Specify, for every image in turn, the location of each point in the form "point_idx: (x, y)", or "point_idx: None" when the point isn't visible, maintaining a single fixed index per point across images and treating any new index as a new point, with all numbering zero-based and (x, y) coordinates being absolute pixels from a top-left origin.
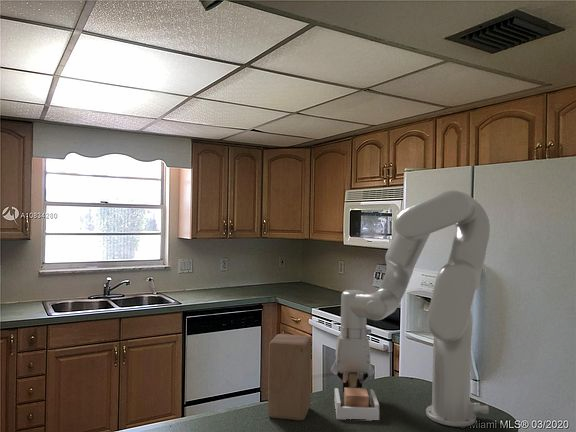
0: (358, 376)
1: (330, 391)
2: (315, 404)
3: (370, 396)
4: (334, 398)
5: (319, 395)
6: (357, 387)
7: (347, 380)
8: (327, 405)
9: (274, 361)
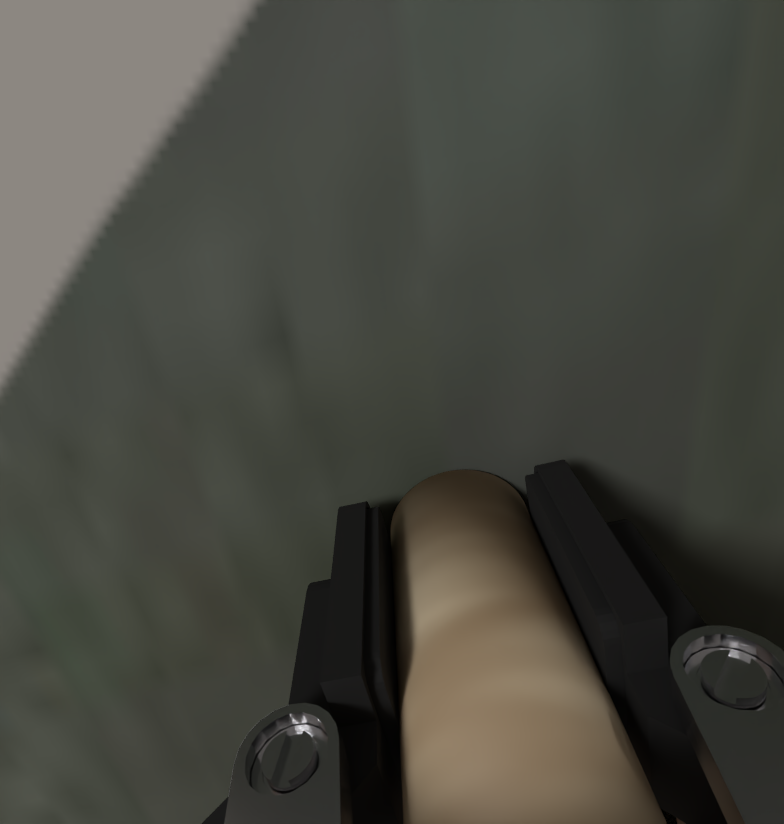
0: (708, 770)
1: (87, 422)
2: (97, 813)
3: None
4: None
5: (11, 606)
6: None
7: (385, 698)
8: None
9: None
